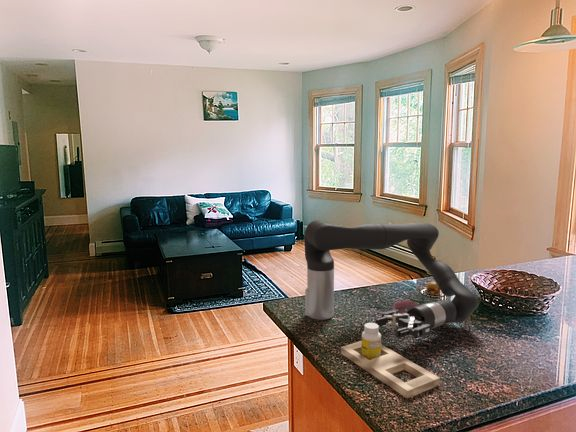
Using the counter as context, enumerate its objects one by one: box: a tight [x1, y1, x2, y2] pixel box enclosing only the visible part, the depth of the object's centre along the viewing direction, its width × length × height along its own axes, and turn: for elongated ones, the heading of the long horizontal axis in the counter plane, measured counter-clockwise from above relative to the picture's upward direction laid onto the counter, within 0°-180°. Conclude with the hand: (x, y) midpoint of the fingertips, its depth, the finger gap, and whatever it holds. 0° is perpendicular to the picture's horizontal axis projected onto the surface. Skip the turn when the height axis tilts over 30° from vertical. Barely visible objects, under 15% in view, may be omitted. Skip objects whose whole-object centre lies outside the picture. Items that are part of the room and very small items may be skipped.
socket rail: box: [340, 340, 441, 399], centre depth 117 cm, size 26×11×2 cm, turn 30°
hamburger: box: [420, 280, 445, 298], centre depth 173 cm, size 12×12×6 cm
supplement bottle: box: [361, 322, 382, 360], centre depth 122 cm, size 5×5×10 cm
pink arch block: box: [391, 299, 421, 314], centre depth 151 cm, size 10×5×7 cm, turn 72°
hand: (386, 328), depth 125 cm, fingers open, 8 cm apart
